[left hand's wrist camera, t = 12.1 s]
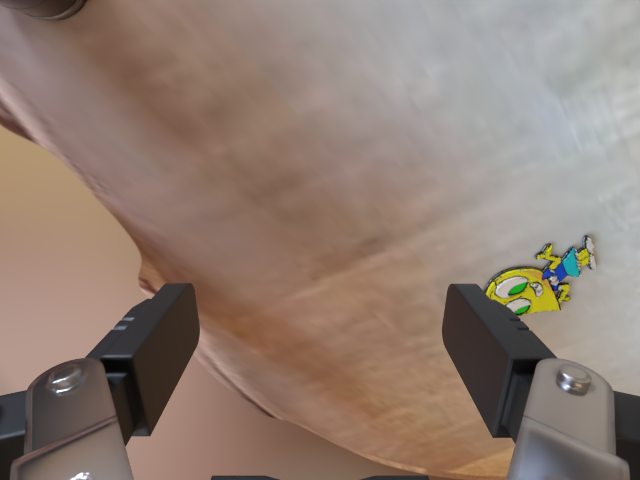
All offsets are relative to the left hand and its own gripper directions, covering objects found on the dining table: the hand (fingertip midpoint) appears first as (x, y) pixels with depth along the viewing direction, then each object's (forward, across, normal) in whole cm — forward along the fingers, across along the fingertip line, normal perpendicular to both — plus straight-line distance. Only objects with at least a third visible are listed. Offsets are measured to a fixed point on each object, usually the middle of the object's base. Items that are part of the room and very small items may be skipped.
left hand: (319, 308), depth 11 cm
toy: (+30, -27, +15) cm, 44 cm away
